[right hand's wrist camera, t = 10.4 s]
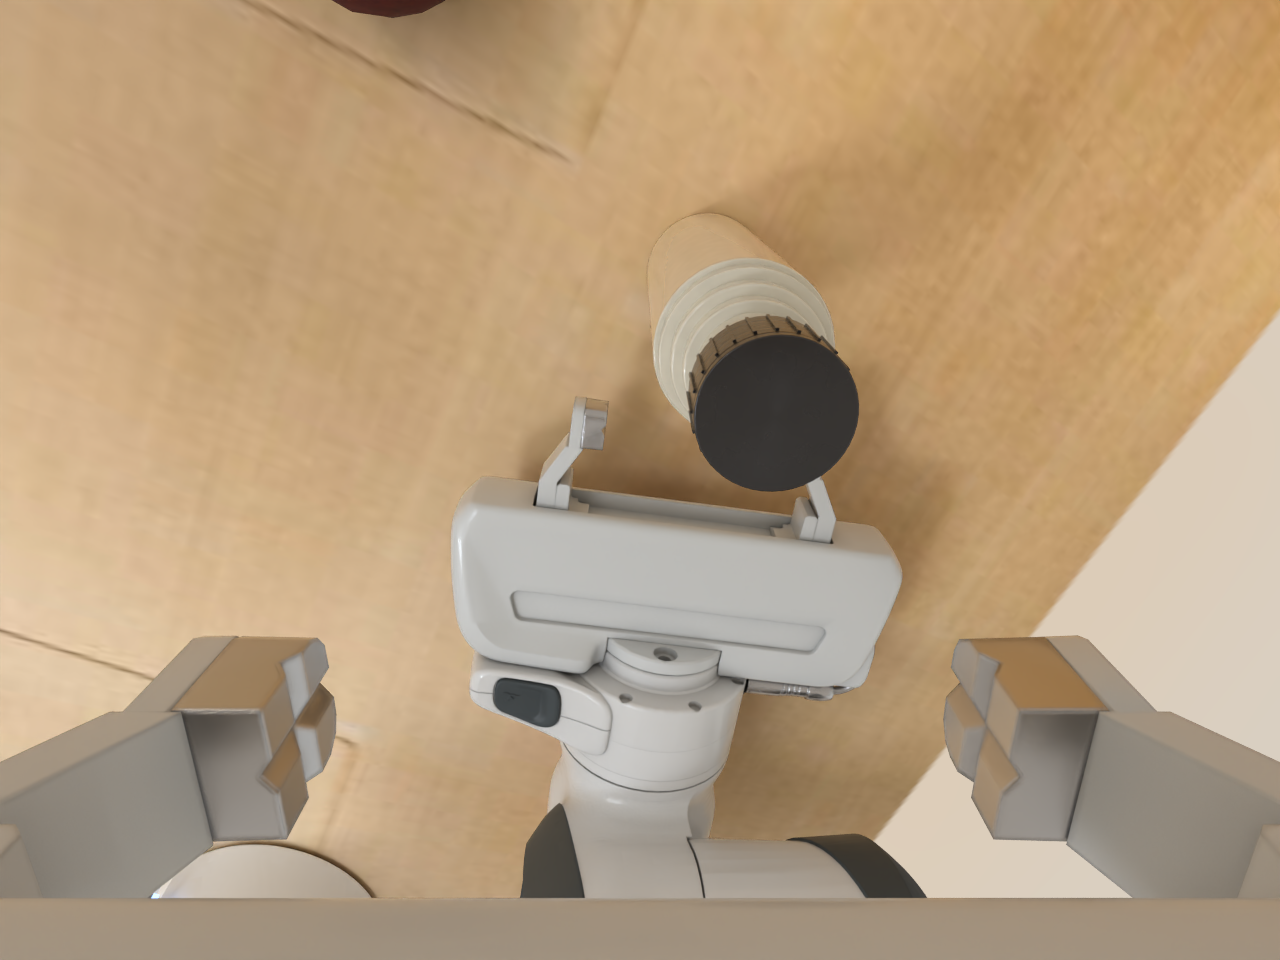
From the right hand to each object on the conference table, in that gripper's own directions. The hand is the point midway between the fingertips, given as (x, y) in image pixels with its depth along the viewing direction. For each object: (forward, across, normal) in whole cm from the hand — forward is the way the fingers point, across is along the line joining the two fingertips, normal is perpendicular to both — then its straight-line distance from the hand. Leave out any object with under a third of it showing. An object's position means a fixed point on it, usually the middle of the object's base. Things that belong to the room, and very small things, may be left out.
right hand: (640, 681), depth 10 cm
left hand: (+24, -3, +4) cm, 25 cm away
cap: (+9, -3, -1) cm, 10 cm away
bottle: (+30, -3, -2) cm, 30 cm away
